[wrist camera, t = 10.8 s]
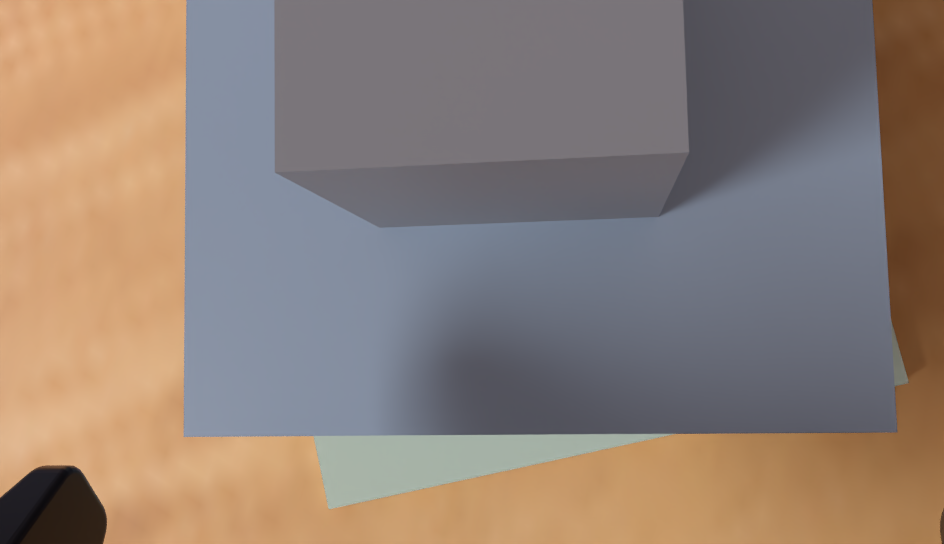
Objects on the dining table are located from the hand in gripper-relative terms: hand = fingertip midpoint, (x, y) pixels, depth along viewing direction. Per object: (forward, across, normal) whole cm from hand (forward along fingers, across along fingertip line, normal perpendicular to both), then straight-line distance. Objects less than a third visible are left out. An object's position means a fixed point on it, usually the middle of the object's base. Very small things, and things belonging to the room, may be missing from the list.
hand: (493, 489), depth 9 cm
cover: (+10, 0, +3) cm, 11 cm away
